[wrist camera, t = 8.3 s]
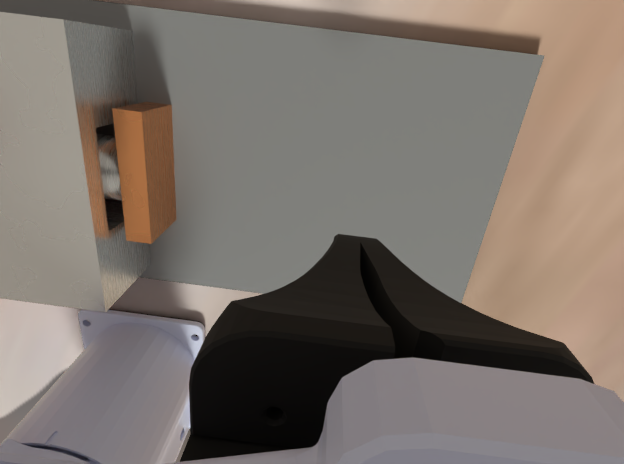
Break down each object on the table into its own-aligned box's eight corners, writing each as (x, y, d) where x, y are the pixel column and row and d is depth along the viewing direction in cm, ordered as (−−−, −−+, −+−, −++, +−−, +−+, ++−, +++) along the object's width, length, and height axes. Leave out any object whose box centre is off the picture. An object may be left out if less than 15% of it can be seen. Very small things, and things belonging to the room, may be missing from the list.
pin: (171, 104, 18) (141, 112, 15) (176, 219, 20) (151, 243, 18) (-78, 73, 18) (-153, 75, 15) (-43, 191, 20) (-102, 210, 18)
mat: (452, 312, 22) (455, 318, 22) (26, 256, 23) (19, 261, 22) (537, 55, 17) (544, 55, 16) (-37, -15, 17) (-50, -18, 16)
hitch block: (150, 264, 22) (105, 312, 17) (49, 250, 22) (-21, 295, 17) (132, 30, 17) (63, 19, 12) (0, 14, 17) (-113, -3, 12)
